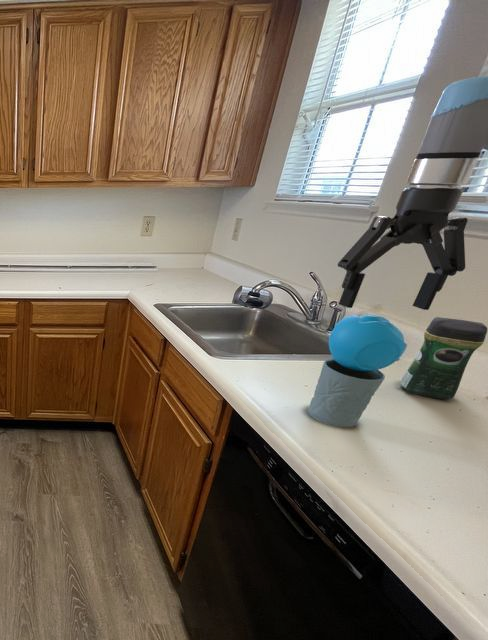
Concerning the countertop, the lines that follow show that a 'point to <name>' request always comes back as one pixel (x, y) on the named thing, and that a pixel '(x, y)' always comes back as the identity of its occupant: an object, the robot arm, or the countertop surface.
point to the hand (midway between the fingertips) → (382, 307)
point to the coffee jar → (443, 357)
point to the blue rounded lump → (366, 343)
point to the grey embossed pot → (343, 394)
